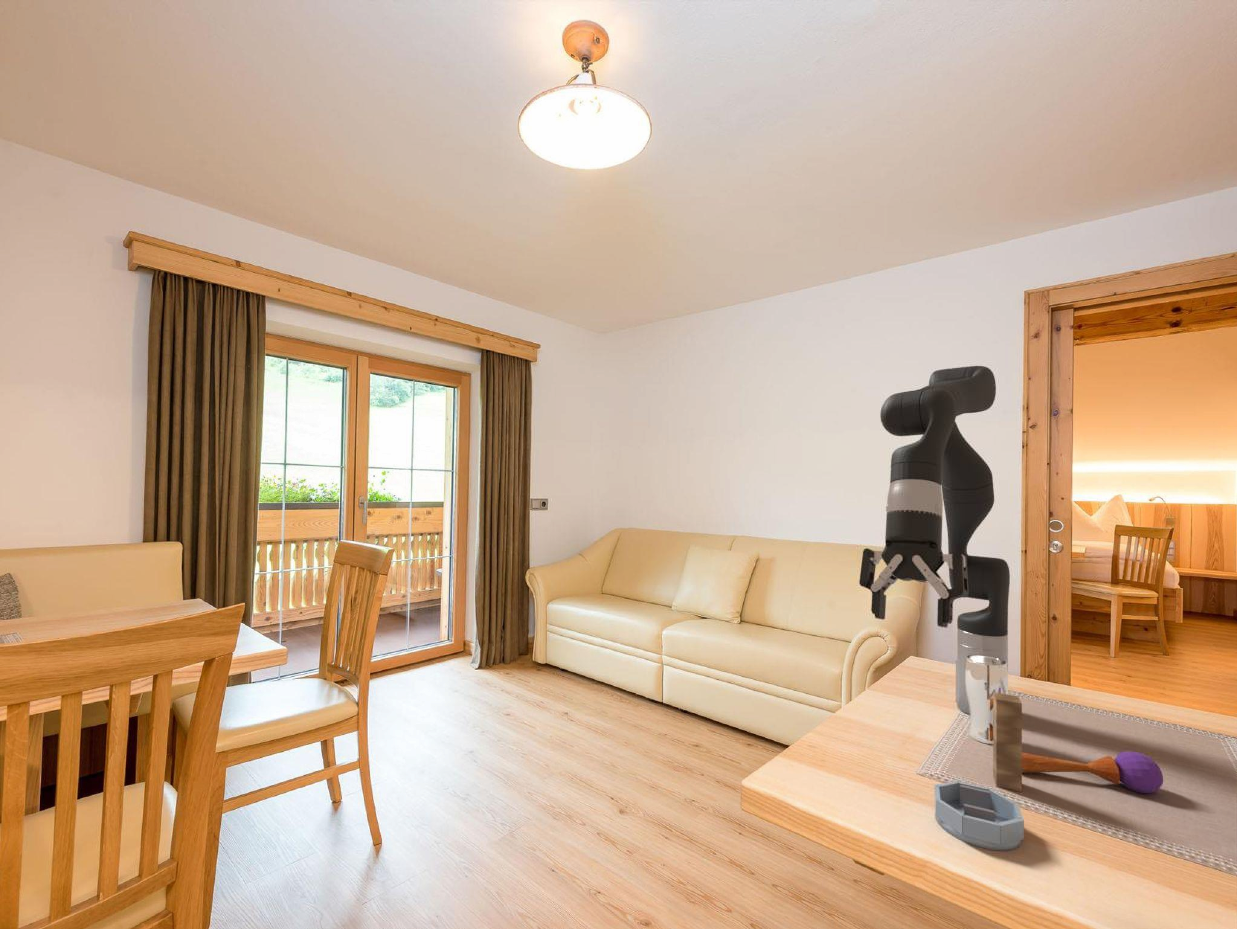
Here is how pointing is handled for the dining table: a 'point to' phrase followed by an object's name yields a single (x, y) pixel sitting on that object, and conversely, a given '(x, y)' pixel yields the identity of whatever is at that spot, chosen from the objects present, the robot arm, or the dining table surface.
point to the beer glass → (984, 693)
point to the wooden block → (1007, 741)
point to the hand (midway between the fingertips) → (909, 622)
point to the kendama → (1105, 769)
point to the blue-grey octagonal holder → (978, 815)
